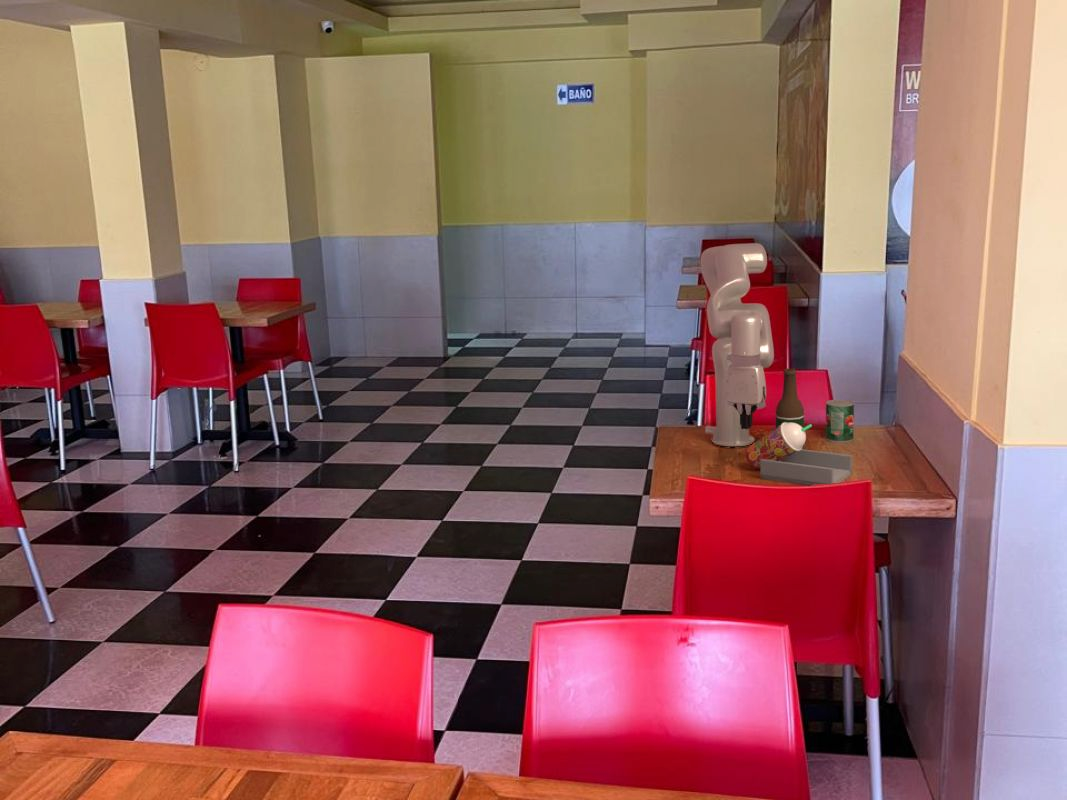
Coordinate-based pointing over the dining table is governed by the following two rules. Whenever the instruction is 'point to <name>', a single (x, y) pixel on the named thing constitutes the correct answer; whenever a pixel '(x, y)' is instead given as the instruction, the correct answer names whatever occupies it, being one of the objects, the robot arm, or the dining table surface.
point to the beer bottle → (790, 402)
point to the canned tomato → (839, 420)
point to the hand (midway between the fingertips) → (746, 427)
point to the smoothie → (777, 444)
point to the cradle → (808, 468)
